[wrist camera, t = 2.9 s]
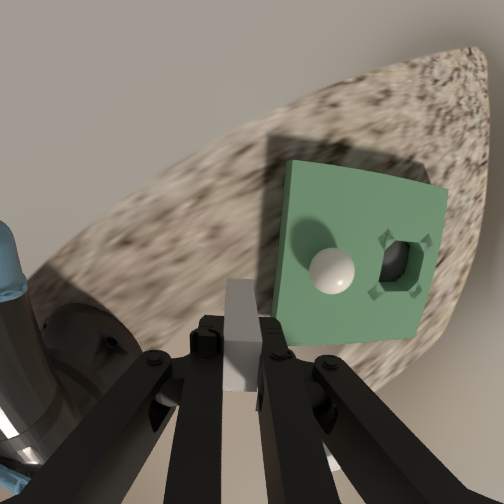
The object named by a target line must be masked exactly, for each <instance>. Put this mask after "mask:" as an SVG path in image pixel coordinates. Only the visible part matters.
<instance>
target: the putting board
mask: <svg viewBox="0 0 504 504" xmlns="http://www.w3.org/2000/svg"><path fill="white" fill-rule="evenodd" d="M447 198H448V189H445V188H441V187H438V186H434V185H430V184H426V183H422V182H418V181H413V180H409V179H405V178H400V177H396V176H391V175H386V174H381V173H376V172H371V171H365V170H360V169H354V168H348V167H342V166H336V165H329V164H322V163H315V162H307V161H299V160H289V161H286V170H285V182H284V193H283V204H282V215H281V225H280V236H279V246H278V255H277V265H276V274H275V283H274V292H273V301H272V310H271V317H275V318H276V319H277V320H278V321H279V322H280V323H281V326H282V329H283V333H284V336H285V339H286V343H287V346H296V345H330V344H348V343H363V342H375V341H386V340H396V339H404V338H413V337H415V334H416V332H417V329H418V326H419V323H420V320H421V317H422V314H423V310H424V307H425V304H426V301H427V297H428V294H429V290H430V286H431V283H432V279H433V275H434V271H435V266H436V262H437V257H438V253H439V248H440V243H441V238H442V232H443V226H444V220H445V213H446V206H447ZM404 241H407V242H408V244H409V246H410V248H409V253H408V248H407V245H406V243H405V242H404ZM327 248H338V249H341V250H343V251H345V252H346V253H347V254H348V255H349V256H350V257H351V259H352V261H353V263H354V267H355V274H354V279H353V281H352V283H351V284H350V286H349V287H348V288H347V289H346V290H344V291H343V292H340V293H338V294H326V293H323V292H321V291H319V290H318V289H317V288H316V287H315V286H314V285H313V283H312V281H311V279H310V275H309V268H310V264H311V261H312V259H313V258H314V256H315V255H316V254H317V253H318V252H320V251H321V250H324V249H327ZM405 267H406V268H405ZM404 269H405V272H404V274H403V275H401V276H400V277H399V278H398V279H397V280H396V281H395V282H392V281H391V280H394V279H395V278H397V277H398V276H399V275H400V274H401V273H402V272H403V270H404ZM379 280H380V281H379Z"/></svg>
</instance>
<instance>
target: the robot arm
mask: <svg viewBox="0 0 504 504" xmlns="http://www.w3.org/2000/svg"><path fill="white" fill-rule="evenodd" d="M27 290H28V285H27V279H26V277H25V275H24V274H23V273H22V269H21V266H20V261H19V257H18V253H17V248H16V244H15V240H14V237H13V234H12V232H11V230H10V229H9V227H8V226H7V225H6V224H5V223H4V222H2V221H0V485H1V486H2V487H4V488H5V489H7V490H8V491H10V492H11V493H13V494H14V495H15V496H13V497H11V498H9V499H7V500H5V501H2V502H0V504H121V502H122V500H123V499H124V497H125V496H126V494H127V492H128V491H129V489H130V487H131V486H132V484H133V482H134V480H135V479H136V477H137V475H138V473H139V472H140V470H141V468H142V467H143V465H144V463H145V462H146V460H147V458H148V456H149V455H150V453H151V451H152V449H153V448H154V446H155V444H156V443H157V441H158V439H159V438H160V436H161V434H162V432H163V430H164V429H165V427H166V425H167V423H168V422H169V420H170V418H171V417H172V415H173V413H174V411H175V409H176V406H179V410H178V416H177V421H176V427H175V432H174V438H173V444H172V450H171V456H170V462H169V468H168V474H167V481H166V487H165V494H164V502H163V504H221V450H222V400H223V391H248V392H250V391H251V392H253V391H254V392H257V386H258V396H257V404H256V411H258V414H259V424H260V432H261V443H262V451H263V461H264V469H265V479H266V488H267V496H268V504H342V503H341V502H340V499H339V496H338V493H337V489H336V486H335V483H334V480H333V476H332V473H331V469H330V466H329V463H328V459H327V456H326V453H325V449H324V446H323V443H322V441H323V442H324V444H325V445H326V447H327V448H328V450H329V451H330V453H331V454H332V456H333V457H334V459H335V460H336V462H337V463H338V465H339V466H340V467H341V469H342V470H343V472H344V473H345V475H346V476H347V478H348V479H349V480H350V482H351V483H352V485H353V486H354V488H355V489H356V490H357V492H358V493H359V495H360V496H361V497H362V499H363V500H364V502H365V503H366V504H503V503H500V502H498V501H495V500H493V499H490V498H488V497H485V496H483V495H481V494H478V493H476V492H474V491H471V490H469V489H467V488H466V487H465V486H464V485H463V484H462V483H461V482H460V481H459V480H458V479H457V478H456V477H455V476H454V475H453V474H452V473H451V472H450V471H449V470H448V469H447V468H446V467H445V466H444V465H443V464H442V462H441V461H439V460H438V459H437V457H436V456H435V455H434V454H433V453H432V452H431V451H430V450H429V449H428V448H427V447H426V446H425V445H424V444H423V443H422V442H421V441H420V440H419V439H418V438H417V437H416V436H415V435H414V434H413V433H412V432H411V431H410V429H408V427H407V426H406V425H405V424H404V423H403V422H402V421H401V420H400V419H399V418H398V417H397V416H396V415H395V414H394V413H393V412H392V411H391V410H390V409H389V408H388V407H387V406H386V405H385V403H384V402H383V401H382V400H381V399H380V398H379V397H378V396H377V395H376V394H375V393H374V392H373V391H372V390H371V389H370V388H369V387H368V386H367V385H366V384H365V383H364V381H363V380H362V379H361V378H360V377H359V376H358V375H357V374H356V373H355V372H354V371H353V370H352V369H351V368H350V367H349V366H348V365H347V364H346V363H345V361H343V360H342V359H341V358H339V357H337V356H334V355H322V356H319V357H317V358H316V359H315V362H314V363H312V362H307V361H302V360H299V359H297V358H296V356H295V354H294V353H293V351H291V350H289V349H288V346H287V343H286V339H285V336H284V333H283V329H282V326H281V323H280V322H279V321H278V320H277V319H276V318H275V317H258V311H257V305H256V299H255V293H254V287H253V281H252V279H232V278H227V285H226V300H225V316H214V315H204V316H203V317H202V318H201V319H200V321H199V327H198V328H197V329H195V330H193V331H192V332H191V333H190V354H188V355H186V356H184V357H180V358H172V359H171V357H170V355H169V354H168V353H166V352H164V351H162V350H148V351H145V352H143V353H142V350H141V349H140V347H139V345H138V343H137V342H136V340H135V339H134V338H133V336H132V335H131V334H130V333H129V331H128V330H127V329H126V328H125V327H124V326H123V325H121V324H120V323H119V322H118V321H117V320H115V319H114V318H113V317H111V316H110V315H108V314H107V313H105V312H103V311H101V310H99V309H97V308H94V307H91V306H88V305H84V304H67V305H64V306H61V307H60V308H58V309H57V310H56V311H54V312H53V313H52V314H51V315H50V316H49V317H48V318H47V319H46V321H45V322H44V324H43V326H42V328H41V331H40V330H39V327H38V324H37V321H36V318H35V315H34V312H33V308H32V305H31V302H30V298H29V295H28V291H27ZM321 439H322V440H321Z"/></svg>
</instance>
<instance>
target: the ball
mask: <svg viewBox="0 0 504 504" xmlns="http://www.w3.org/2000/svg"><path fill="white" fill-rule="evenodd" d="M354 274H355V267H354V263H353V261H352V259H351V257H350V256H349V255H348V254H347V253H346V252H345V251H343V250H341V249H338V248H327V249H324V250H321V251H320V252H318V253H317V254H316V255H315V256H314V258H313V259H312V261H311V264H310V268H309V275H310V279H311V281H312V283H313V285H314V286H315V287H316V288H317V289H318V290H319V291H321V292H323V293H326V294H338V293H340V292H343V291H344V290H346V289H347V288H348V287H349V286H350V284H351V283H352V281H353V279H354Z"/></svg>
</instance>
